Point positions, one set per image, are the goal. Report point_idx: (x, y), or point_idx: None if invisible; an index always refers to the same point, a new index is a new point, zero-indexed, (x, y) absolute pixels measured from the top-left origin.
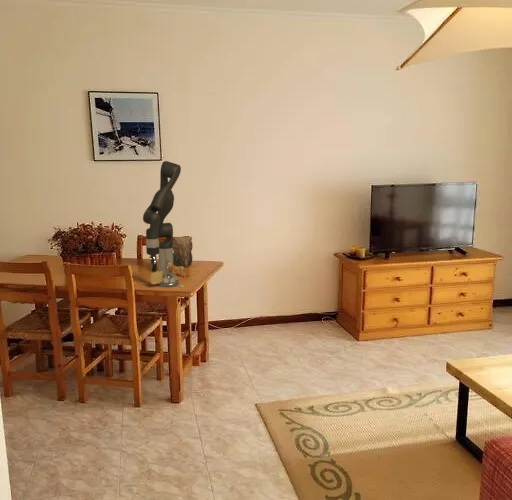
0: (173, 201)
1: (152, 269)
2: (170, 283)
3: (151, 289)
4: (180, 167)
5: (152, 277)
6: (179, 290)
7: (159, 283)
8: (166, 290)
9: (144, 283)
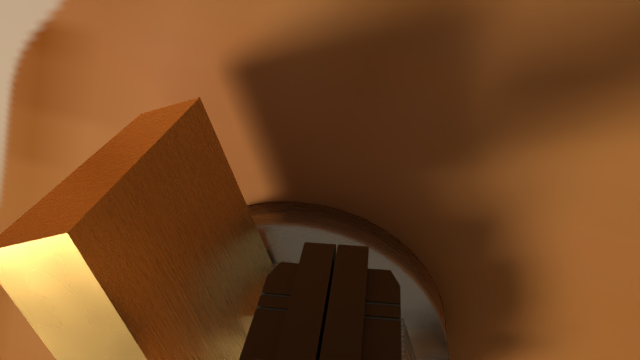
0: None
1: (280, 351)
2: None
3: (97, 52)
4: None
5: (66, 182)
6: (7, 346)
7: None
8: None
9: (559, 6)
